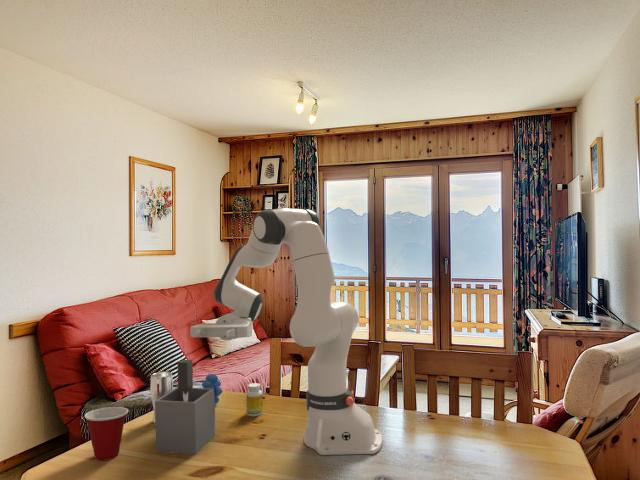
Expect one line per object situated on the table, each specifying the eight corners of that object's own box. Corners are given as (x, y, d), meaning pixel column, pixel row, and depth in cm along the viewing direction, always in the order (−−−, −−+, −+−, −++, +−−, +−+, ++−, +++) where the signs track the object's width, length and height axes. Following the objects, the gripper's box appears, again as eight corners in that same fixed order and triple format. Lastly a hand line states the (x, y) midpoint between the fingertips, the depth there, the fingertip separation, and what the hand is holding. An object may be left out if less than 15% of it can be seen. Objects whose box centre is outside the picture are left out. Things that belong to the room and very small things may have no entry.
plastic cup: (138, 449, 123) (137, 406, 123) (107, 468, 113) (106, 421, 113) (108, 444, 126) (107, 402, 127) (75, 461, 116) (74, 416, 116)
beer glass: (159, 426, 138) (158, 379, 138) (146, 421, 142) (145, 375, 142) (178, 419, 143) (177, 373, 144) (165, 414, 148) (164, 370, 148)
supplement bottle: (246, 411, 149) (245, 383, 149) (262, 409, 150) (261, 381, 150) (247, 417, 144) (246, 388, 144) (263, 415, 145) (262, 386, 145)
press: (215, 435, 131) (214, 388, 131) (196, 454, 119) (195, 403, 119) (178, 433, 133) (177, 387, 133) (155, 451, 121) (154, 401, 121)
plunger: (208, 431, 129) (206, 357, 130) (193, 445, 120) (192, 366, 121) (179, 429, 131) (178, 356, 131) (163, 443, 122) (161, 365, 122)
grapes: (214, 414, 147) (214, 378, 147) (196, 413, 148) (196, 377, 148) (230, 402, 158) (229, 369, 158) (213, 401, 160) (212, 368, 160)
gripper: (200, 318, 155) (180, 325, 142) (255, 317, 151) (240, 324, 138) (201, 336, 155) (181, 344, 142) (256, 335, 151) (241, 344, 138)
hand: (211, 334), depth 140 cm, fingers open, 8 cm apart
